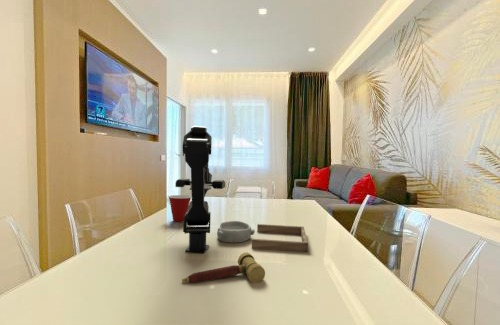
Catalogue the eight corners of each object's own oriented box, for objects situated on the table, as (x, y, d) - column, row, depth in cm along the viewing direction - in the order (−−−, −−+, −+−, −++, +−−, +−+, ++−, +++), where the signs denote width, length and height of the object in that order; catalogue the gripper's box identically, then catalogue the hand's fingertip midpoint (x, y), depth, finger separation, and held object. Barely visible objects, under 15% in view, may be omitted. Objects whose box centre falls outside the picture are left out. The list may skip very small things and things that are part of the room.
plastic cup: (194, 218, 133) (194, 194, 132) (187, 224, 122) (187, 197, 121) (173, 217, 134) (173, 193, 133) (163, 222, 123) (164, 196, 123)
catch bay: (307, 252, 92) (307, 243, 92) (251, 248, 94) (251, 239, 94) (303, 233, 112) (303, 226, 112) (257, 230, 114) (257, 223, 114)
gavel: (183, 281, 64) (179, 263, 73) (184, 299, 64) (180, 280, 74) (265, 264, 71) (252, 251, 80) (265, 281, 71) (252, 266, 80)
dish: (218, 245, 97) (219, 231, 96) (213, 233, 110) (213, 221, 110) (257, 242, 101) (257, 229, 100) (247, 231, 114) (248, 219, 114)
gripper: (228, 165, 113) (227, 202, 113) (185, 164, 115) (185, 200, 116) (222, 167, 102) (221, 208, 102) (175, 165, 104) (174, 205, 105)
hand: (200, 205), depth 106 cm, fingers closed
